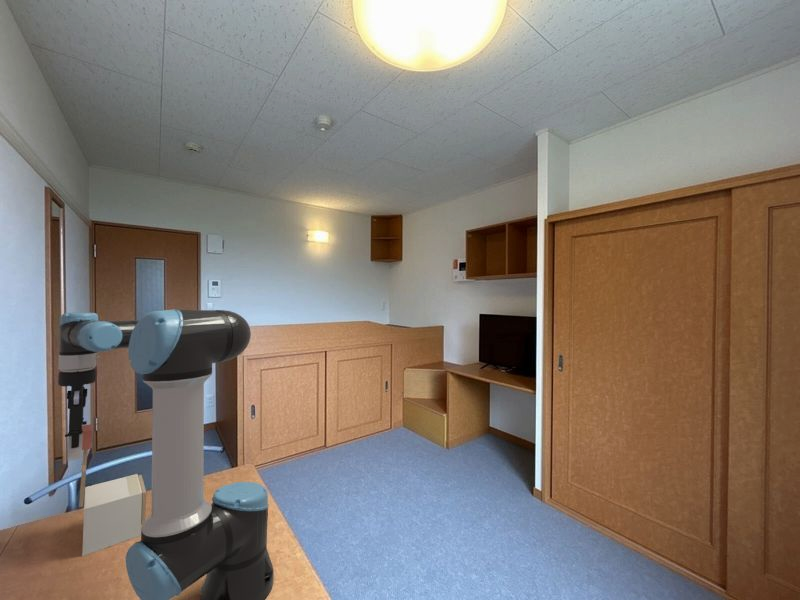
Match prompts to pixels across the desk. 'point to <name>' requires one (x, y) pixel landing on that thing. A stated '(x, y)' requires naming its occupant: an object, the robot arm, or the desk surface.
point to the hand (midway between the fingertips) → (75, 454)
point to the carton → (113, 512)
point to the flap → (85, 458)
